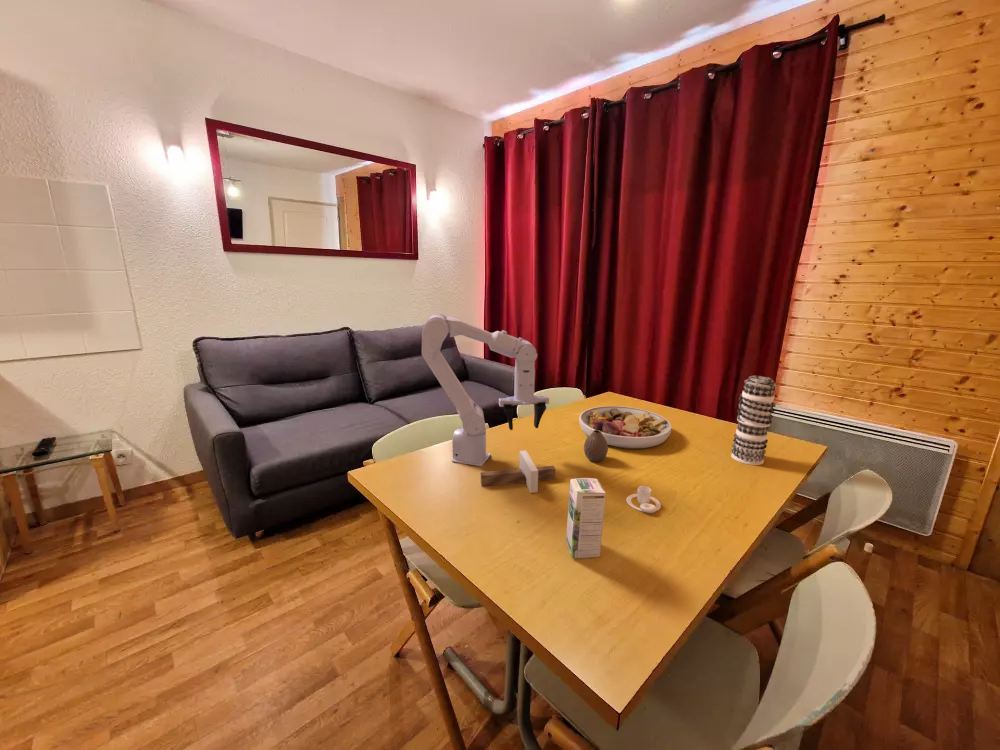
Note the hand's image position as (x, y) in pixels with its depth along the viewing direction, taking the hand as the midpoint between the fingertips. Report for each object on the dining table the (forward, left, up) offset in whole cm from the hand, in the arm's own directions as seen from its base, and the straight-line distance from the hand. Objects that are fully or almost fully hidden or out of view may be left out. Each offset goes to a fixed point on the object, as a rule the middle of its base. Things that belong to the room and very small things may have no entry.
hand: (523, 427), depth 121 cm
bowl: (+28, +29, -10) cm, 41 cm away
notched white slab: (+5, -13, -9) cm, 17 cm away
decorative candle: (+64, +21, -10) cm, 68 cm away
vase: (+21, +6, -10) cm, 24 cm away
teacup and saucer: (+32, -16, -10) cm, 37 cm away
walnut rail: (+3, -14, -9) cm, 17 cm away
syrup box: (+23, -36, -10) cm, 44 cm away
